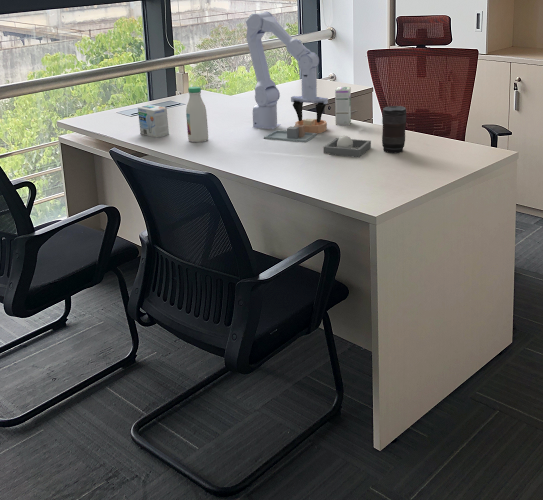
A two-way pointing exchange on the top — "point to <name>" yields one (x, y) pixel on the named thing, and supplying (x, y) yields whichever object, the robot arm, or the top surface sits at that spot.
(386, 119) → the camera lens
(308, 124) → the cream matte cube
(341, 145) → the pale grey egg
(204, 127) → the milk bottle
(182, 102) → the top surface
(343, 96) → the syrup box
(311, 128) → the bowl
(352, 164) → the top surface
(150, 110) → the light bulb box
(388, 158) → the top surface
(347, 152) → the grey square tray
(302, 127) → the cardboard tan cube
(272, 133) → the parts tray
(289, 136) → the plain grey cube
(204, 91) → the top surface
